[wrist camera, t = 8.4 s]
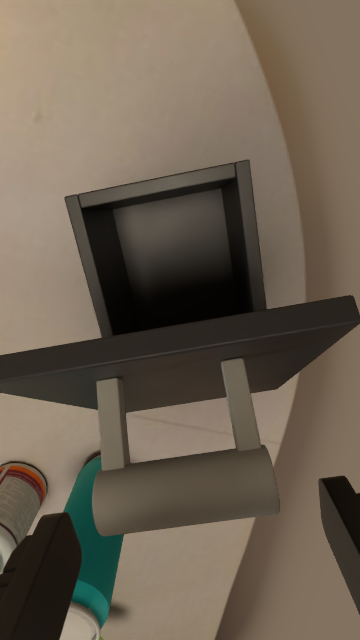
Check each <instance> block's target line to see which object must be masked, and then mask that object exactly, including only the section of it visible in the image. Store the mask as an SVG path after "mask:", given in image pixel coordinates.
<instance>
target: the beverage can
mask: <svg viewBox="0 0 360 640" xmlns="http://www.w3.org/2000/svg"><path fill="white" fill-rule="evenodd" d="M100 469H102V464H101V455H98V456H96V457H95V458H93V459H92V460H91V461H89V462H88V463H87V464H86V465H85V466H84V467H83V468H82V469H81V471H80V472H79V474H78V477H77V479H76V482H75V484H74V487H73V489H72V492H71V494H70V497H69V499H68V501H67V504H66V506H65V509H64V511H63V512H68V513H69V515H70V517H71V520H72V523H73V526H74V528H75V531H76V534H77V537H78V539H79V542H80V545H81V550H82V563H81V569H80V572H79V576H78V579H77V583H76V586H75V589H74V593H73V596H72V600H71V603H70V606H69V610H68V613H67V616H66V620H65V623H64V627H63V630H62V633H61V637H60V640H99V638H100V629H101V628H102V626H103V625H104V623H105V621H106V620H107V617H108V614H109V609H110V604H111V599H112V593H113V588H114V583H115V578H116V572H117V567H118V562H119V557H120V552H121V546H122V541H123V536H124V534H120V535H112V536H102V535H100V534H99V533H98V531H97V529H96V526H95V522H94V517H93V508H92V495H93V486H94V481H95V477H96V475H97V473H98V471H99V470H100Z"/></svg>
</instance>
